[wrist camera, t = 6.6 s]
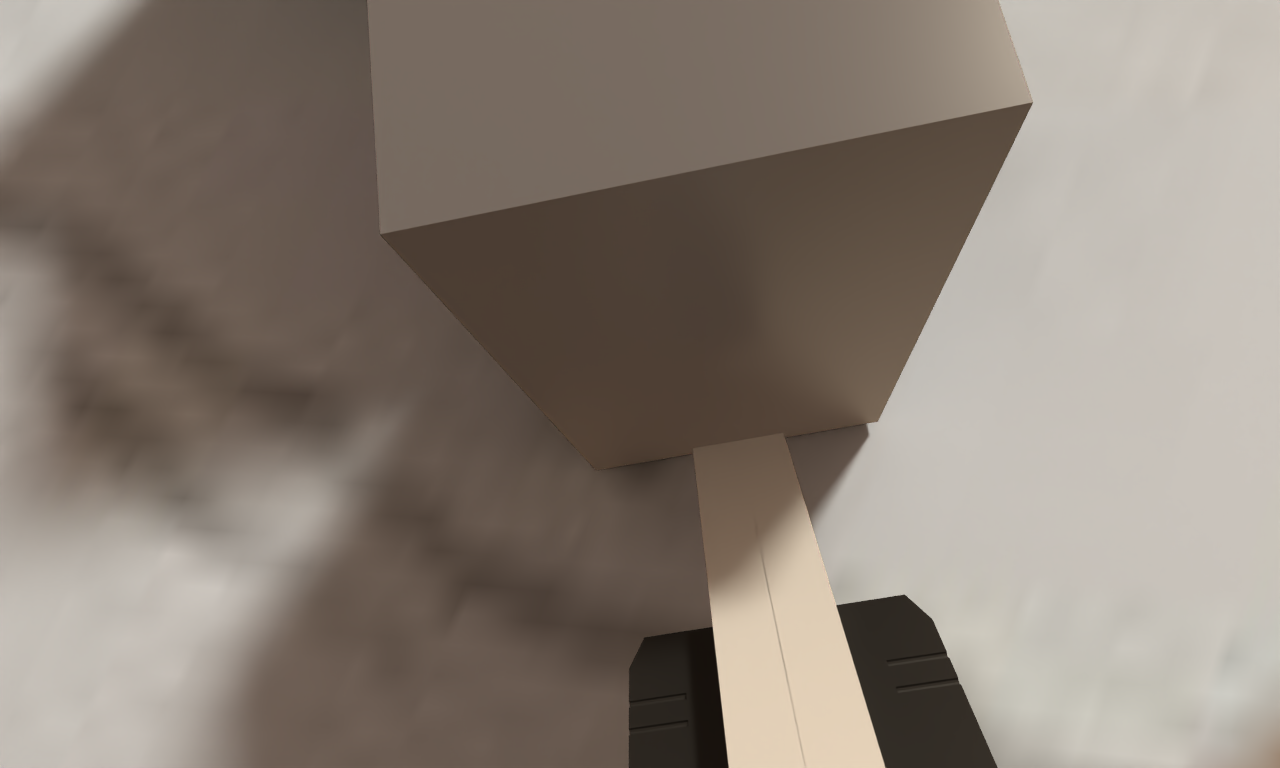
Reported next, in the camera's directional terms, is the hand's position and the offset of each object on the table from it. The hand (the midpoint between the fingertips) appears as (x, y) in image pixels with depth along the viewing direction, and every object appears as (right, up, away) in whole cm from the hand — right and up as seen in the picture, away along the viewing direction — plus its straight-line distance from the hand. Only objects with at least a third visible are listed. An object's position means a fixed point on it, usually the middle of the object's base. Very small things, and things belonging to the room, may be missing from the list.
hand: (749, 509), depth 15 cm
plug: (-1, +5, +5) cm, 8 cm away
